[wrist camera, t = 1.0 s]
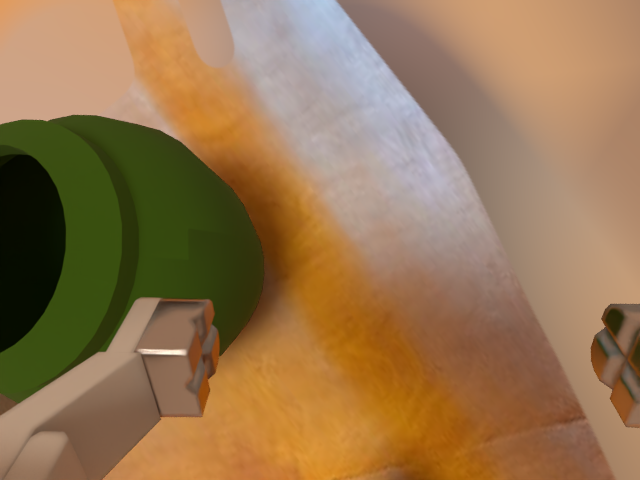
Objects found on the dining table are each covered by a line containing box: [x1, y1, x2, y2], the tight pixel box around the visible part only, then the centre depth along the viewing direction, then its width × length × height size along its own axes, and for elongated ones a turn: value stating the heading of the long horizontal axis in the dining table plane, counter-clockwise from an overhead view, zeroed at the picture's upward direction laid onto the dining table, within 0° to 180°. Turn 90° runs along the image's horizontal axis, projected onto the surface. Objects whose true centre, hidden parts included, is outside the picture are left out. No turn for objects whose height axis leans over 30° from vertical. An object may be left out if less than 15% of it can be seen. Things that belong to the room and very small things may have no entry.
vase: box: [0, 115, 264, 404], centre depth 36 cm, size 20×20×24 cm
